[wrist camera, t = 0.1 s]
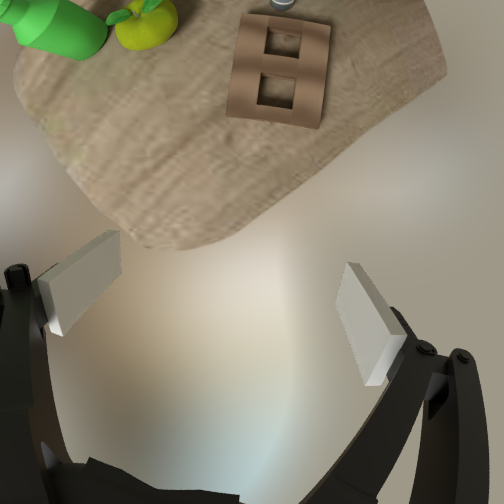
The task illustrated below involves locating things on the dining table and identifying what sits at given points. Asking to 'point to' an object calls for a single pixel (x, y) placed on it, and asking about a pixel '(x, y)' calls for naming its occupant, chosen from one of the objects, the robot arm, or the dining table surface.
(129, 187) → the dining table surface
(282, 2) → the peg
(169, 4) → the fruit
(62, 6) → the bottle
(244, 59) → the board
